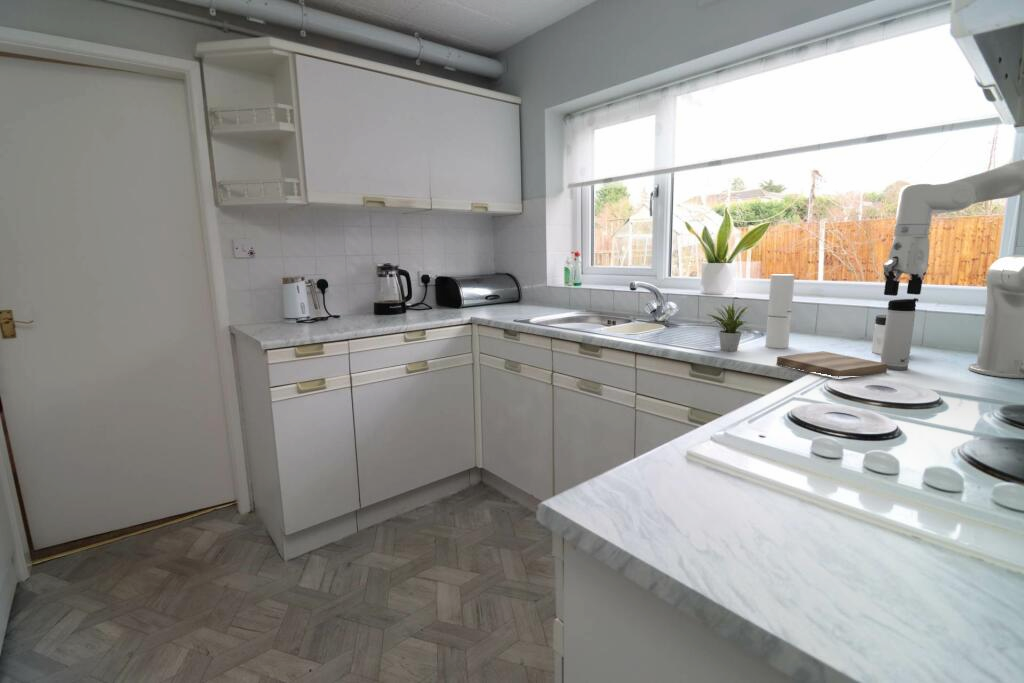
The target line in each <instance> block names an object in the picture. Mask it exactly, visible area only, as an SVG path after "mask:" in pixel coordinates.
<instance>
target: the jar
mask: <svg viewBox="0 0 1024 683" xmlns="http://www.w3.org/2000/svg"><path fill="white" fill-rule="evenodd" d="M886 316H887V314H879V315H876V316H875V320H874V322H875V323H874V328H873V337H872V338H873V339H872V344H871V345H872V346H871V353H873V354H876V355H877V354H878V355H882V348H883V340H884V332H885V324H886Z"/></svg>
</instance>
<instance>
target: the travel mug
mask: <svg viewBox="0 0 1024 683" xmlns="http://www.w3.org/2000/svg"><path fill="white" fill-rule="evenodd" d="M917 302H919V298H916V297H915V298H906V299H905V298H904V299H901V298H900V299H892V300H891V299H890V300H889V301H888V303H887V311H886V315H887V316H886V324H885V332H884V340H883V348H882V354H881V359H880V362H881V363H886V364H887V370H890V371H891V370H892V371H906V370H908V368H909V363H910V354H911V349H912V348H911V346H912V339H913V332H914V324H915V317H916V307H917V304H916V303H917Z"/></svg>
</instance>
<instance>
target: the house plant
mask: <svg viewBox="0 0 1024 683" xmlns="http://www.w3.org/2000/svg"><path fill="white" fill-rule="evenodd" d="M734 305H735V304H734V303H732V306H730V305H729V304H727V308H726V307H725V305H723V304H722V303H721V306H722V308H724V309H725V312H726V314H725V312H724V311H723V310H722V309H720V308H718V307H714V306H713V309H714V310H716V311H717V312H718V313H719V314H720V315H721V316H722V318H721V317H719V316H716V315H713V314H708V313H707V314H706V315H707V316H709V317H712V318H711V319H712V320H713V319H714V321H711V322H710V324H713V323H718V324H719V325H720V326H721V327H722V328H723V329H722V330H719V331H718V335H719V345H720V350H721V351H725V352H737V351H738V348H739V345H740V340H741V336H742V331H739V330H738V328H740V327H741V326H744V325H745V326H746V324H747V322H746V320H741V319H742V316H743V314H744V313H745V311H746V310H747V311H746V313H747V312H749V310H748V308H751V307H752V305H749V306H746V307H745V306H744V305H742V306H739V308H737V310H736V311H735V306H734ZM710 307H712V306H710ZM743 307H744V308H743ZM741 308H743V309H741ZM740 309H741V310H740ZM739 310H740V312H739V313H738V311H739ZM737 313H738V315H737Z"/></svg>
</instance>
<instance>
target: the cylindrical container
mask: <svg viewBox="0 0 1024 683" xmlns="http://www.w3.org/2000/svg"><path fill="white" fill-rule="evenodd" d="M795 277H796V276H795V274H792V273H791V274H789V273H786V274H785V273H782V274H781V273H778V274H776V273H773V274H770V282H769V283H770V284H769V295H768V306H767V307H768V309H767V319H766V320H767V321H766V333H765V334H766V335H765V345H764V346H765V347H767V348H773V349H788V348H789V344H790V343H789V341H790V333H791V330H790V329H791V320H792V308H793V300H794V299H793V298H794V296H793V295H794V287H795V286H794V285H795Z"/></svg>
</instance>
